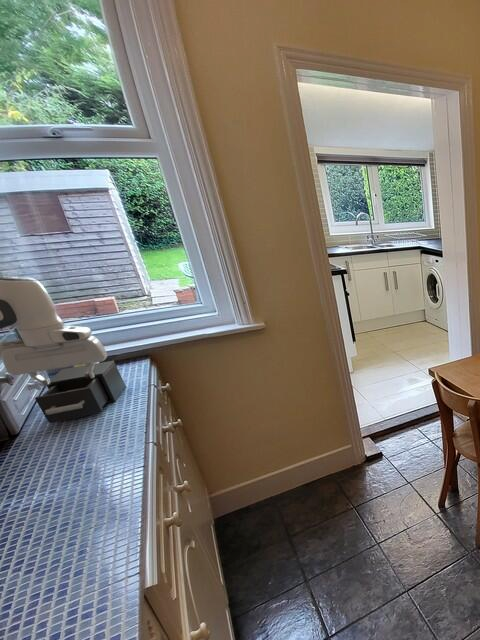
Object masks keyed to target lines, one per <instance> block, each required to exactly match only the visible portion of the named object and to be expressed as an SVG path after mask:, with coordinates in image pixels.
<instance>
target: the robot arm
mask: <svg viewBox="0 0 480 640" xmlns="http://www.w3.org/2000/svg"><path fill="white" fill-rule="evenodd" d="M8 327H14V328H15V329H16V331H17V333H18V334H19V336H20V338H19V339H13V340H3V341H0V357H1V360H2V363H3V366H4V369H5V370H6V372H7V374H9V375H12V376H20V375H26V374H28V375H29V376H30V377H31V378H32V379H33V380H35V381H37V382H39V384H40V385H41V386H42V387H47V386H49V385H51V384H52V383H51V381H50V379H51V378H50V377H48V378H47V377H46V378H45V377H43V376H41V375H40V374H41V372H45V371H51V370H56V369H57V370H58V369H65V368H71V367H74V366H77V365H83V364H85V366H86V367H89V370H88V372H86V373H85V376H86V378H87V379H90V378H94V377H95V375H94V373H93V369H94V366H95V364H94V363H95V362H99V363H102V362H105V360H106V359H107V358H108V352H107V350H106V348H105V347H104V345H103V344H102V342H101V341H100V339H99V338H97V337H96V336H95V335H92V334H93V332H92V329H91V328H90V327H88V326H80V325H79V326H78V325H69V324H65V323H64V321H63V319H62V318H61V317H60V316H59V315H58V313H57V310H56V305H55V303H54V301H53V299H52V297H51V296H50V294H49V293H48V291H47V289H46V287H45V286H44V285H43V284H42V283H41V282H40V281H39V280H37V279H36V278H33V277H29V276H20V275H8V276H7V275H6V276H4V275H3V276H0V330H1V329H4V328H8Z"/></svg>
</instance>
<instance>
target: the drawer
mask: <svg viewBox="0 0 480 640" xmlns="http://www.w3.org/2000/svg"><path fill="white" fill-rule="evenodd" d="M86 387H87V388H86ZM80 388H82V389H80ZM75 389H76V390H75ZM69 390H71V391H69ZM109 398H110V396H109V394H108V392H107V390H106V388H105V386H104V384H103V382H102V380H101V378H100V376H99V377H94V378H90V379H82V380H76V381H70V382H65V383H59V384H55V385H53V386H52V387H51V388H50V389H47V391H45V392H44V393H43V394H42V395H39V396H36V397H35V398H34V400H35V402H36V403H37V405H38V407H39V409H40V410H41V411H42V414H43V416H44V417H45V419H46V421H47V422H48V424H53V423H58V422H61V421H66V420H71V419H72V420H73V419H76V418H81V417H86V416H92V415H96V414H100V413H101V414H102V413H104V409H103V407H104V406H105V405H106V404H107V403H106V402H107V401H108V399H109ZM105 403H106V404H105Z"/></svg>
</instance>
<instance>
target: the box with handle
mask: <svg viewBox="0 0 480 640" xmlns="http://www.w3.org/2000/svg"><path fill="white" fill-rule="evenodd" d="M88 370H89V367H86V366H85V365H84V366H78V367H74V366H71V367H64V368H61V369H60V371H58V372H57V373H56V374H55V375H53V376H52V377H51V378H49V379H50V381H51V383H52V384H51V385H49V386H46V388H47V390H49V389H50V388H51V387H52V386H53V385H55V384H59V383H65V382H70V381H76V380H82V379H87V378H86V376H85V373H86V372H88ZM93 373H94V375H95V377H99V376H100V378H101V380H102V382H103V384H104V386H105V388H106V390H107V392H108V394H109V396H110V398H109V399H108V401H107V402H106V403H105V405H106V404H110V403H114V402H117V401H118V399H119V398H120V397H121V395H122V393H123V392H124V391H125V389H126V388H127V386H126V383H125V381H124V379H123V377H122V374H121V372H120V371H119V369H118V366H117V364H116V362H115V360H108V361H101V362H99V363H96V364H95V366H94V369H93Z"/></svg>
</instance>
